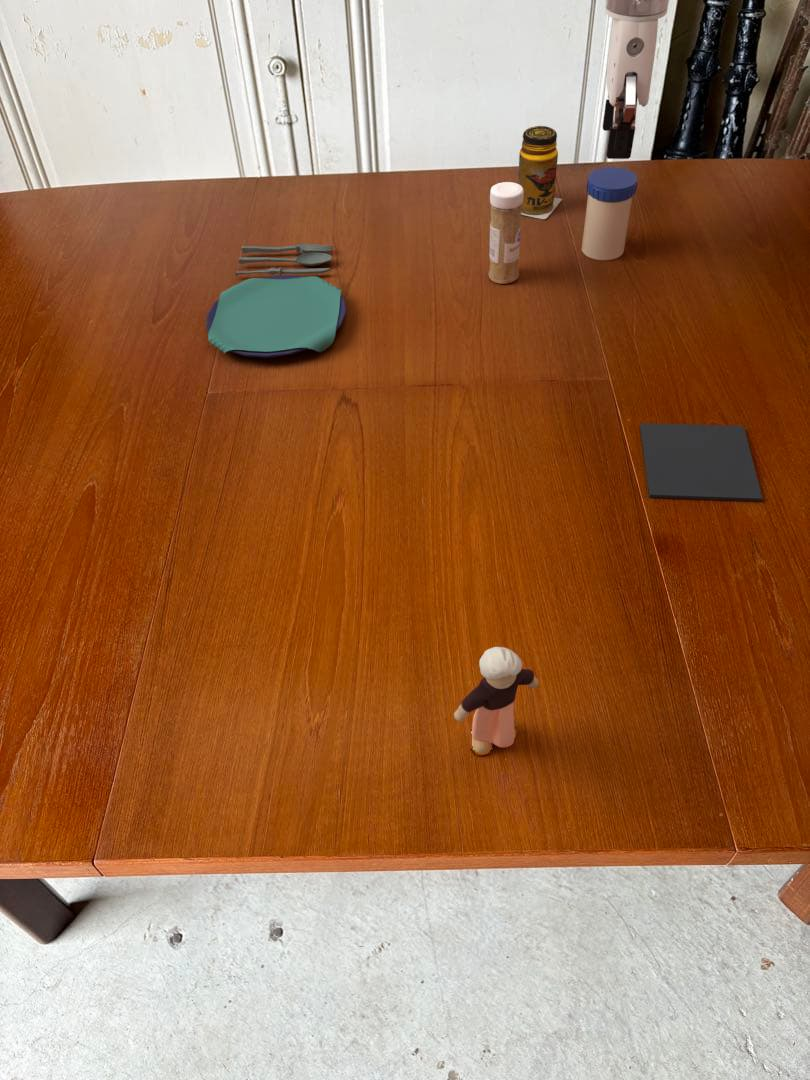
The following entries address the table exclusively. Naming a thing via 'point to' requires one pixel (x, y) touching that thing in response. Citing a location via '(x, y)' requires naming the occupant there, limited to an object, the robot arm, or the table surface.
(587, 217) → the jar
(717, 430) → the mat
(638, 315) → the table surface
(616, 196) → the lid
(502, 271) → the spice bottle
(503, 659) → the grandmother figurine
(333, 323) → the cutlery set
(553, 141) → the condiment
